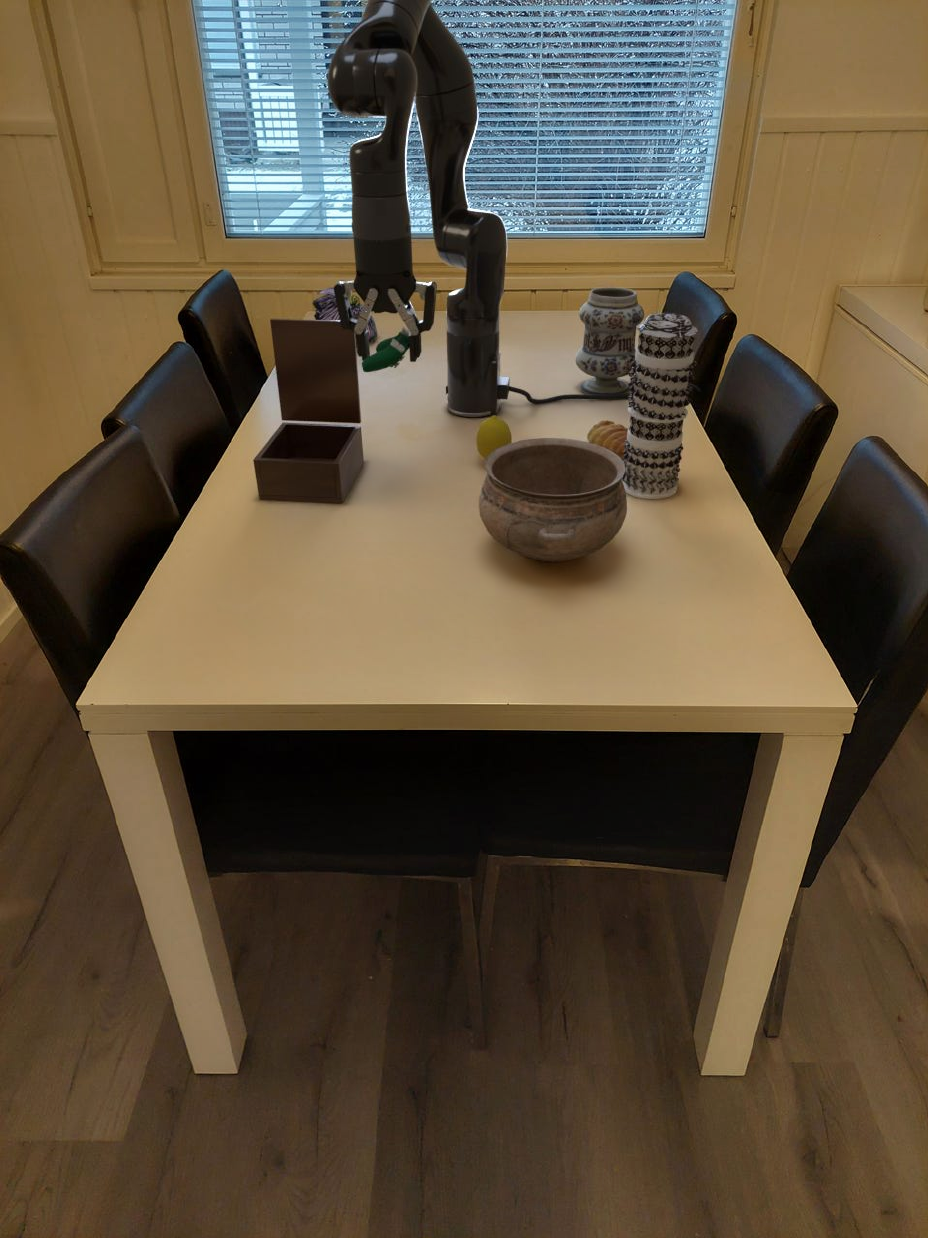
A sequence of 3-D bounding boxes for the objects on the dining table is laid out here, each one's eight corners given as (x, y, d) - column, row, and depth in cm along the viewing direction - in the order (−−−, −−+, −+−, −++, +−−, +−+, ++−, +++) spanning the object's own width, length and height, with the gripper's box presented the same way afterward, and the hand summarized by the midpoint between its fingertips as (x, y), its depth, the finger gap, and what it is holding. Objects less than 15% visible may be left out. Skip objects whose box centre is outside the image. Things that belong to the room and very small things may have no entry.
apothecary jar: (635, 379, 173) (644, 283, 163) (639, 400, 163) (649, 300, 153) (573, 377, 174) (579, 282, 164) (573, 398, 164) (580, 299, 154)
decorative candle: (666, 505, 127) (690, 330, 113) (607, 491, 131) (623, 320, 117) (688, 482, 134) (713, 314, 120) (632, 469, 138) (649, 305, 124)
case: (342, 503, 129) (338, 463, 125) (259, 499, 130) (253, 459, 126) (363, 462, 141) (361, 425, 137) (287, 459, 142) (282, 422, 138)
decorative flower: (348, 306, 182) (306, 273, 189) (330, 358, 188) (290, 324, 195) (397, 312, 193) (356, 281, 200) (379, 361, 199) (340, 329, 206)
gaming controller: (377, 387, 121) (406, 358, 118) (357, 366, 120) (385, 337, 117) (394, 365, 129) (421, 338, 125) (375, 346, 127) (402, 318, 124)
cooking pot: (482, 506, 127) (482, 426, 121) (613, 509, 127) (621, 428, 120) (474, 599, 107) (474, 508, 100) (631, 603, 106) (642, 511, 99)
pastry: (648, 457, 142) (651, 434, 139) (613, 465, 139) (615, 442, 137) (615, 437, 149) (617, 415, 146) (581, 444, 146) (583, 422, 144)
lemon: (515, 459, 141) (516, 411, 137) (505, 473, 137) (506, 424, 133) (482, 455, 143) (482, 407, 138) (471, 468, 139) (471, 419, 134)
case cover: (353, 321, 129) (360, 314, 132) (269, 319, 130) (279, 312, 134) (360, 423, 137) (366, 413, 141) (281, 420, 138) (290, 410, 142)
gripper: (440, 226, 116) (444, 352, 126) (334, 225, 118) (345, 350, 127) (433, 237, 110) (436, 369, 120) (320, 236, 112) (333, 367, 121)
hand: (389, 359), depth 123 cm, fingers closed on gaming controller, 6 cm apart
